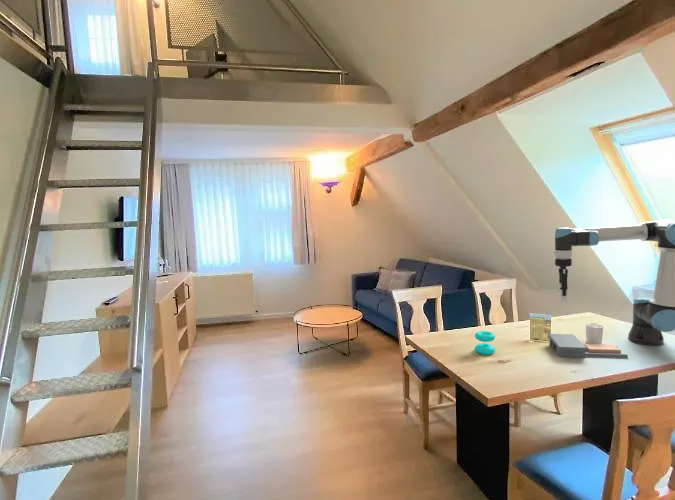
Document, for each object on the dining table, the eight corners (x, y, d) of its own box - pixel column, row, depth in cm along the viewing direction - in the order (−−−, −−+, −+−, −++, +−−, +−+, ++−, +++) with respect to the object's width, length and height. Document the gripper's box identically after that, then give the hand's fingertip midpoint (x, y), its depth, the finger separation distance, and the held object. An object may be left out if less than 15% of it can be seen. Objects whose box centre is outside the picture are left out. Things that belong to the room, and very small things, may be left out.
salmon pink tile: (613, 349, 208) (614, 344, 208) (620, 355, 201) (621, 349, 200) (583, 348, 212) (583, 343, 211) (588, 354, 204) (589, 348, 204)
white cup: (605, 346, 214) (605, 327, 213) (588, 345, 216) (589, 327, 214) (599, 341, 222) (599, 323, 220) (582, 340, 223) (583, 322, 222)
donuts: (478, 329, 220) (497, 332, 214) (478, 347, 221) (497, 350, 215) (472, 334, 212) (491, 337, 206) (472, 353, 213) (491, 356, 207)
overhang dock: (613, 345, 214) (613, 335, 213) (631, 360, 194) (631, 349, 194) (548, 343, 221) (548, 333, 220) (559, 358, 202) (559, 346, 201)
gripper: (553, 254, 223) (553, 293, 225) (556, 261, 201) (556, 304, 203) (569, 254, 220) (569, 293, 222) (573, 261, 197) (573, 305, 200)
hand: (563, 298), depth 213 cm, fingers open, 13 cm apart
